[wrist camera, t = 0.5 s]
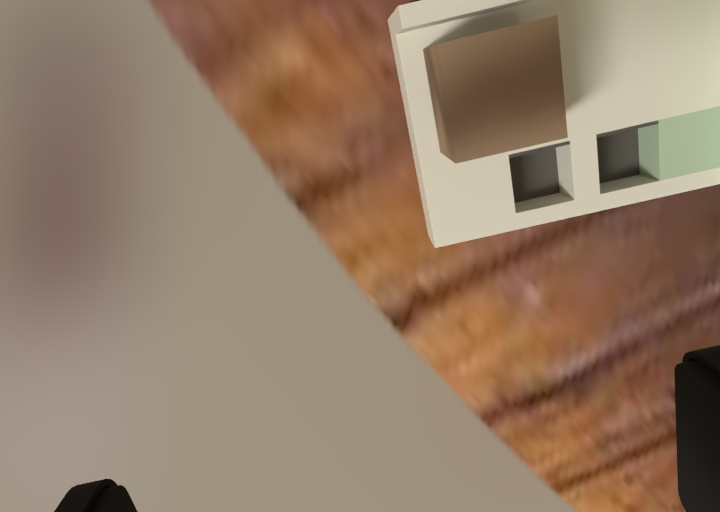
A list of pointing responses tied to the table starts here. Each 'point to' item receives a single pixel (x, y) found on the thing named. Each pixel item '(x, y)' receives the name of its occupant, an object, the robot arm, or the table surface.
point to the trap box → (573, 112)
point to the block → (497, 90)
